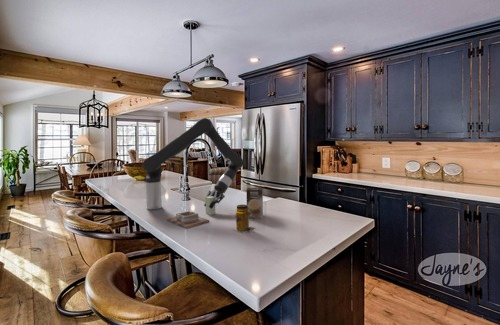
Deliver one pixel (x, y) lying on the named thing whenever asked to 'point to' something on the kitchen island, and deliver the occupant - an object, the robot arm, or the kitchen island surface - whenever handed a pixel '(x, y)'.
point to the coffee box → (255, 202)
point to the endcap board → (187, 219)
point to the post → (208, 202)
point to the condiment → (242, 219)
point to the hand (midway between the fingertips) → (207, 206)
